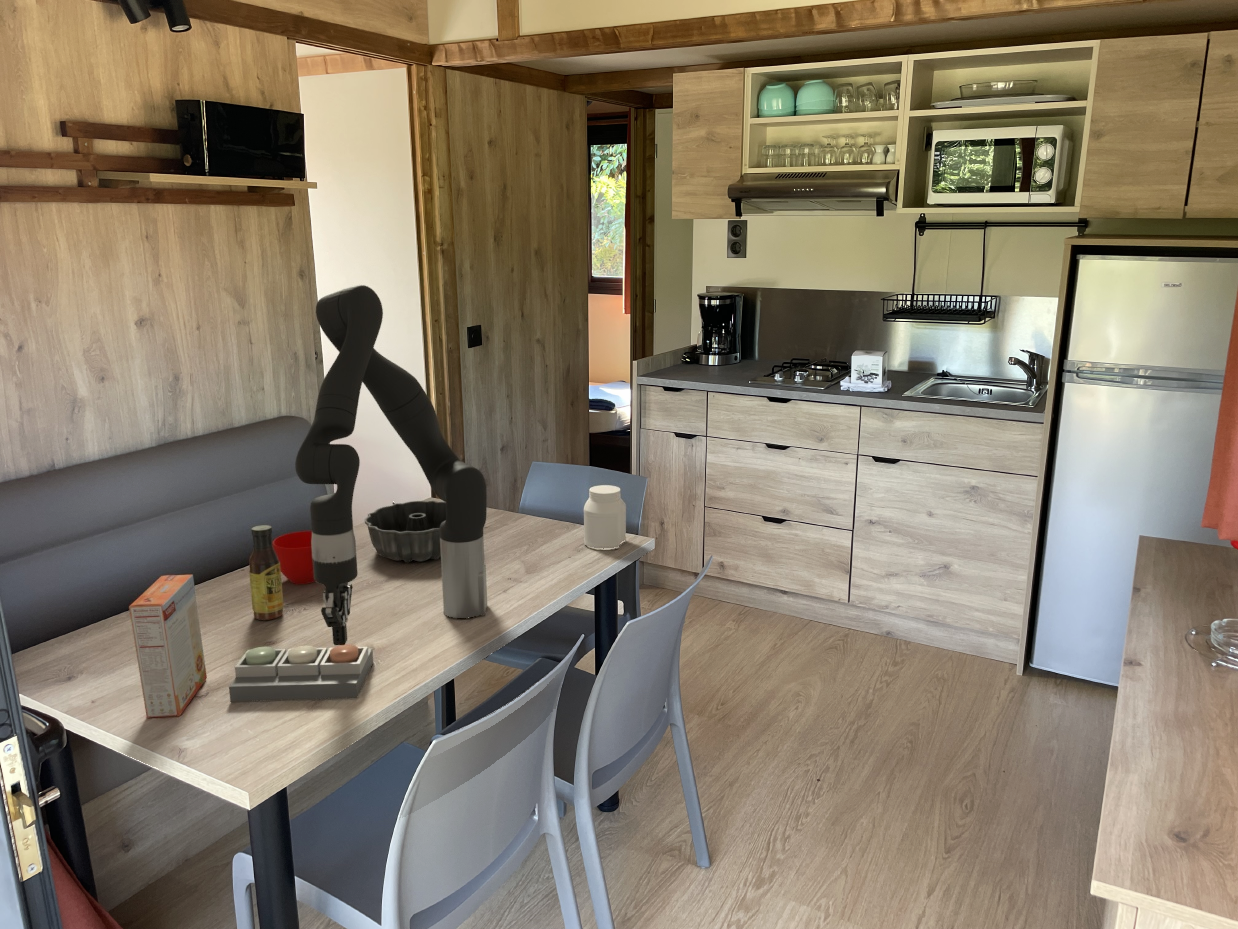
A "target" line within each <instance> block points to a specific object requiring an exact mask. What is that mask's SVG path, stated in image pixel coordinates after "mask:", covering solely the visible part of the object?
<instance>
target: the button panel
mask: <svg viewBox="0 0 1238 929" xmlns="http://www.w3.org/2000/svg"><path fill="white" fill-rule="evenodd" d="M357 647H358V654H359V657H358V659H357V660H355V661H354V662H348V663H332V662H331V661H330V650H331V649H332V648H333V647H329V648H328V647H315V648H316V649H317V659H316V660H315V661H314V662H312V663H309V664H290V663H289V661H288V652H289V651H290V650H291V649H292V648H288V650H287V648H274V649H275V656H276V659H275V661H274V662H272V663H270V664H268V665H248V664H247V663H246V653H247V652H248V651H250V650H251V649H247V650H246V652H245V653H244V654H243V656H242V657H241V658H240V659H239V661H238V662H237V663H236V665H235V666H234V674H235V677H234V679H233V680H232V682H231V683H230V684H229V685H228V692H229V698H230V703H243V702H244V703H245V702H246V703H247V702H248V703H249V702H278V701H279V702H281V701H310V700H311V701H315V700H316V701H317V700H346V699H347V700H348V699H349V700H351V699H352V700H354V699H356V700H357V699H358V698H359V695H360V693H361V691H362V689H363V687H364V685H365V682H366V679H367V678H368V675H369V673H370V671H371V669H372V667H373V664H374V654H373V647H372V648H370V647H369V646H357ZM368 647H369V648H368ZM371 666H372V667H371Z"/></svg>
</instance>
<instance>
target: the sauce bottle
mask: <svg viewBox="0 0 1238 929" xmlns="http://www.w3.org/2000/svg"><path fill="white" fill-rule="evenodd" d="M272 534H273V527H272V526H271V525H266V524H264V525H256V526H254V527H252V528H251V536H252V541H253V542H252V543H253V545H252V546H253V550H252V552H251V554H250V556H249V559H248V563H249V572H248V574H249V584H250V594H251V596H250V597H251V605H252V611H253V616H254V619H256V620H259V621H269V620H274V619H277V618H280V617H282V615H283V613H284V597H283V596H284V595H283V585H282V584H283V582H282V572H281V569H280V561H279V559H278V557H277V555H276V553H275V550H274V548H273V536H272Z"/></svg>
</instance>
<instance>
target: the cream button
mask: <svg viewBox="0 0 1238 929" xmlns="http://www.w3.org/2000/svg"><path fill="white" fill-rule="evenodd" d="M316 648H317V647H316V646H314V645H300V646H295V647H293V648H290V649H291V650H290V651H289V652H288V661H289V663H290V664H309V663H312V662H314V661H315V660H316V659H317V649H316Z"/></svg>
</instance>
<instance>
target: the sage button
mask: <svg viewBox="0 0 1238 929" xmlns="http://www.w3.org/2000/svg"><path fill="white" fill-rule="evenodd" d="M275 649H276V648H274V647H271V646H259V647H254V648H252V649H249V650H250V651H248V652H247V653H246V652H245V653H246V663H247V664H248V665H268V664H270V663H272V662H274V661H275V659H276V656H275Z"/></svg>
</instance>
